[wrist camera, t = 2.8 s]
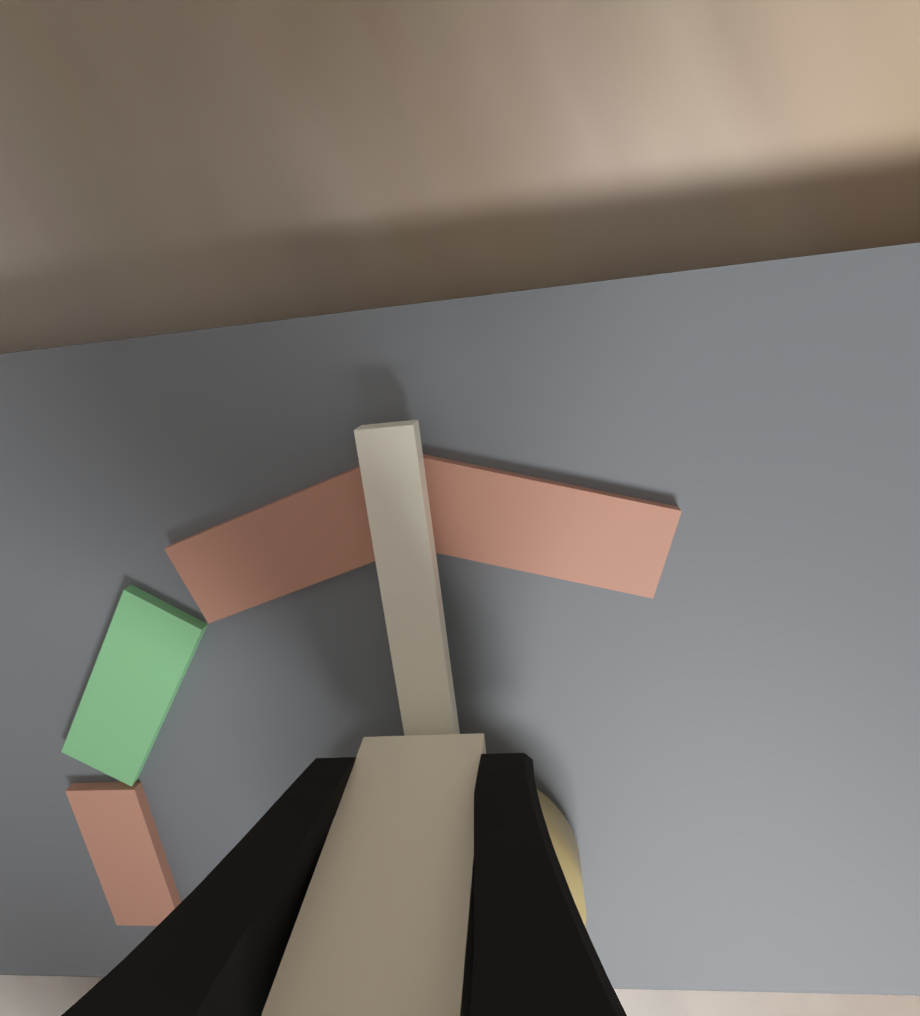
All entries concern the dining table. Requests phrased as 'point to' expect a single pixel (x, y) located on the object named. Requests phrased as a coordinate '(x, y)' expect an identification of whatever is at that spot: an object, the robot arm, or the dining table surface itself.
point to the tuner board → (490, 604)
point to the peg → (401, 798)
